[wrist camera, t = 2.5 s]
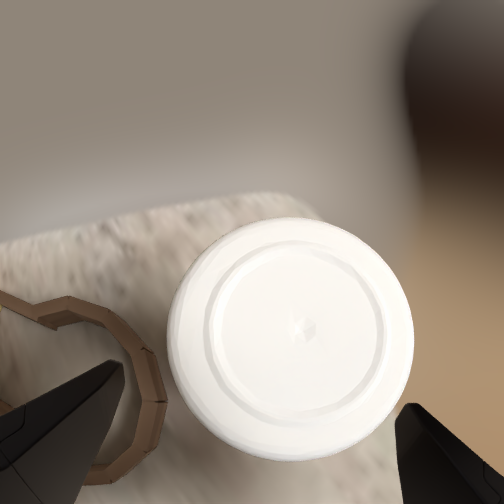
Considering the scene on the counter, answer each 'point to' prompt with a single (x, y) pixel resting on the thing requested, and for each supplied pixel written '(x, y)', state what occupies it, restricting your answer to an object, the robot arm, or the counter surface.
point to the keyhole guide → (143, 363)
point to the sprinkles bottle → (290, 339)
